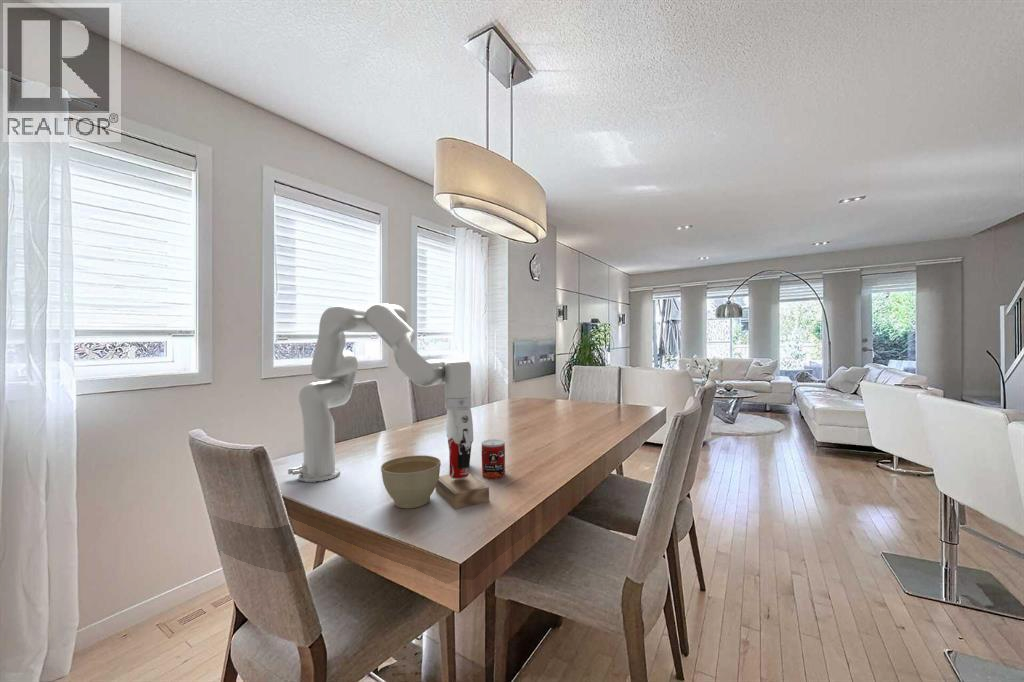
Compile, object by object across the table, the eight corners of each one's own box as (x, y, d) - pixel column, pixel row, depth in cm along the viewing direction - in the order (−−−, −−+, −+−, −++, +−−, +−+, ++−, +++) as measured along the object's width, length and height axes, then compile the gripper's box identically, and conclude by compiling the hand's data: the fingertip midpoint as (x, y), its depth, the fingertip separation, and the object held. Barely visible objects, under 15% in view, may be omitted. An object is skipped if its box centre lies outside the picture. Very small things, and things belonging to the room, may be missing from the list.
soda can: (449, 473, 123) (449, 433, 122) (468, 472, 123) (468, 432, 123) (449, 480, 117) (449, 438, 117) (468, 479, 118) (468, 437, 118)
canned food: (481, 479, 132) (481, 445, 132) (482, 471, 140) (482, 439, 140) (505, 479, 133) (504, 444, 133) (505, 471, 141) (504, 438, 141)
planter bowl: (397, 490, 124) (396, 454, 124) (448, 492, 122) (448, 455, 122) (370, 512, 108) (369, 471, 108) (429, 516, 106) (428, 473, 106)
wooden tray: (455, 509, 110) (455, 493, 110) (435, 490, 124) (435, 476, 124) (489, 501, 115) (488, 486, 115) (466, 484, 129) (466, 470, 129)
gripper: (482, 405, 114) (483, 471, 114) (459, 398, 129) (459, 455, 129) (457, 408, 111) (458, 475, 111) (436, 400, 126) (436, 459, 126)
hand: (458, 464), depth 120 cm, fingers closed on soda can, 5 cm apart
